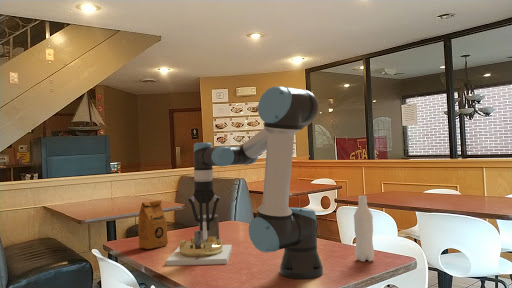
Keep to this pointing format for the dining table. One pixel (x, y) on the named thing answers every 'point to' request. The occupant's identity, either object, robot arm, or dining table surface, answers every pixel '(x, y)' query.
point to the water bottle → (363, 231)
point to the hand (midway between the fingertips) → (205, 238)
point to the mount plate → (200, 258)
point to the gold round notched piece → (200, 246)
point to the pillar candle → (211, 227)
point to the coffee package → (152, 226)
